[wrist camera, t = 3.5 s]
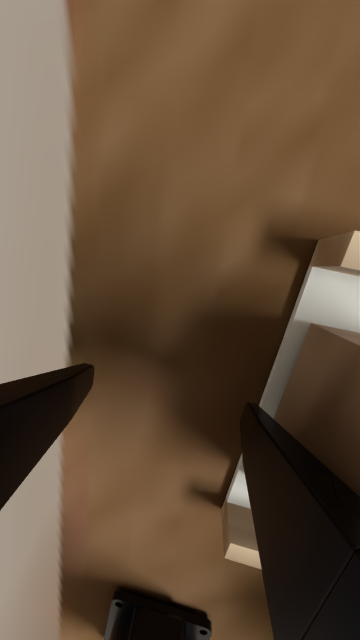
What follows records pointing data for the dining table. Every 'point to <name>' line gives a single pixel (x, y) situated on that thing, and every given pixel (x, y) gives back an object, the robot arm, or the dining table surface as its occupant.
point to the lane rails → (238, 529)
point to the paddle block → (326, 400)
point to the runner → (311, 307)
